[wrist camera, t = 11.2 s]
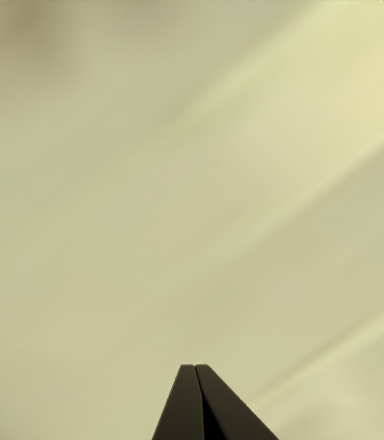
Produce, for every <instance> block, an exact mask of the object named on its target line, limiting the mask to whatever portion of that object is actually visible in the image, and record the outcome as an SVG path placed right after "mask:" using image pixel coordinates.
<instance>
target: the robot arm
mask: <svg viewBox="0 0 384 440" xmlns="http://www.w3.org/2000/svg"><path fill="white" fill-rule="evenodd" d="M152 440H279V439H278V438H277V437H276V436H275V435H274V434H273V433H272V432H271V430H270V429H269V428H268V427H267V426H266V425H265V424H264V423H263V422H262V421H261V420H260V419H259V418H258V417H257V416H256V415H255V414H254V413H253V412H252V411H251V409H250V408H249V407H248V406H247V405H246V404H245V403H244V402H243V401H242V400H241V399H240V398H239V397H238V396H237V395H236V394H235V393H234V392H233V391H232V389H231V388H230V387H229V386H228V385H227V384H226V383H225V382H224V381H223V380H222V379H221V378H220V377H219V376H218V375H217V374H216V373H215V372H214V371H213V370H212V368H211V367H210V366H208V365H206V364H197V365H195V366H194V365H181V366H180V368H179V371H178V373H177V376H176V378H175V381H174V384H173V386H172V389H171V391H170V394H169V396H168V399H167V402H166V404H165V407H164V409H163V412H162V414H161V417H160V420H159V422H158V425H157V427H156V430H155V432H154V435H153V437H152Z"/></svg>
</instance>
